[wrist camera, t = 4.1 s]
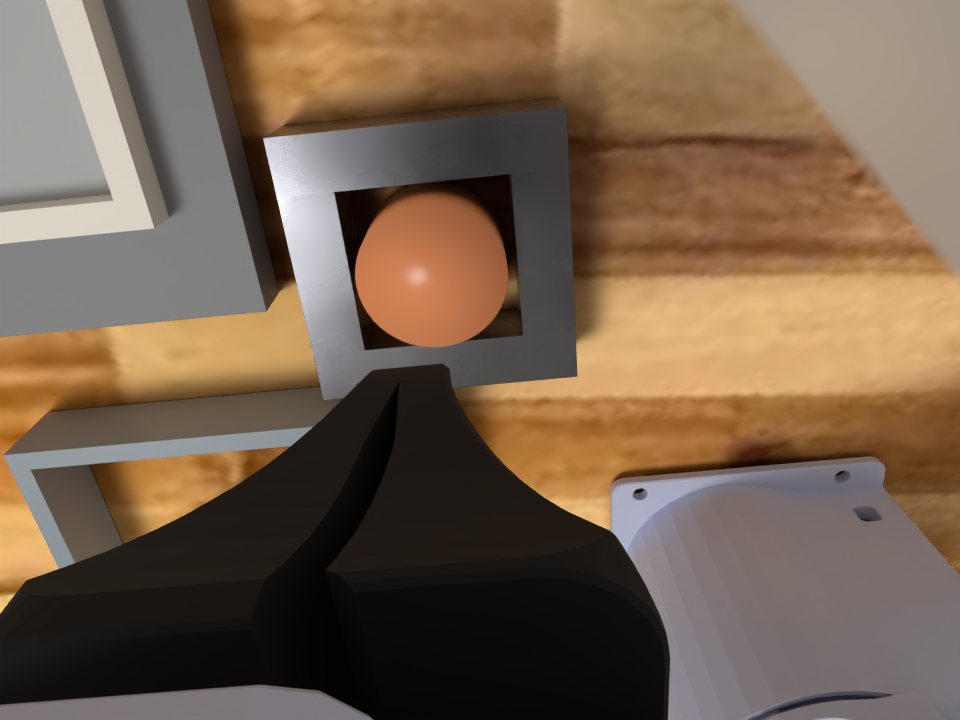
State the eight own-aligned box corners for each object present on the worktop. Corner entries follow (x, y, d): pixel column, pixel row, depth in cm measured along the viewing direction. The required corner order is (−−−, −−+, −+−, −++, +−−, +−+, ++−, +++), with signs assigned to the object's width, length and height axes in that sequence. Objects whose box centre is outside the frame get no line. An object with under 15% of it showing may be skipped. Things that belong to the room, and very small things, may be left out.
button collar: (557, 97, 19) (566, 106, 17) (568, 346, 22) (577, 376, 21) (282, 126, 19) (262, 138, 17) (335, 368, 23) (323, 399, 21)
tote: (441, 375, 23) (438, 415, 21) (480, 655, 29) (481, 709, 27) (48, 412, 23) (2, 455, 21) (167, 680, 29) (142, 736, 27)
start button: (497, 174, 19) (501, 194, 17) (509, 306, 21) (513, 340, 19) (355, 188, 20) (342, 211, 17) (379, 318, 21) (369, 353, 19)
